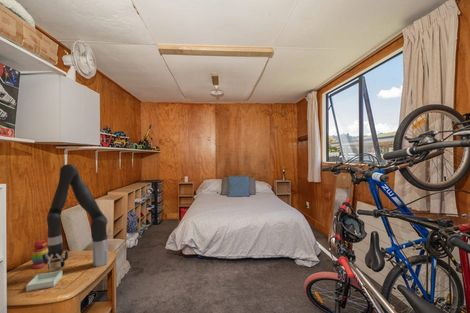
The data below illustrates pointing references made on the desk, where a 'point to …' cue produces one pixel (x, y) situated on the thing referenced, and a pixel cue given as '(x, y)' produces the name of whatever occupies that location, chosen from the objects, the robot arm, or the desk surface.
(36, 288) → the green crate
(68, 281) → the desk surface
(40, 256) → the stacking bear
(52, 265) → the oak crate
